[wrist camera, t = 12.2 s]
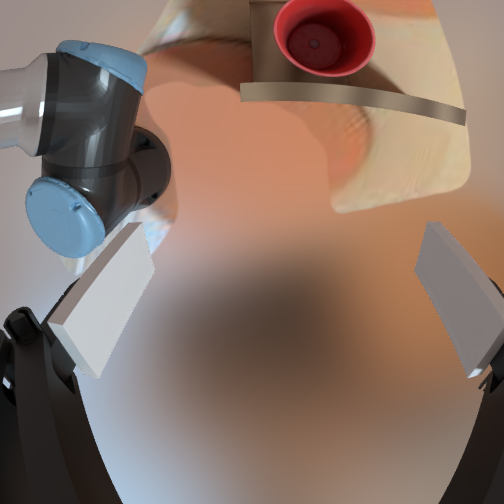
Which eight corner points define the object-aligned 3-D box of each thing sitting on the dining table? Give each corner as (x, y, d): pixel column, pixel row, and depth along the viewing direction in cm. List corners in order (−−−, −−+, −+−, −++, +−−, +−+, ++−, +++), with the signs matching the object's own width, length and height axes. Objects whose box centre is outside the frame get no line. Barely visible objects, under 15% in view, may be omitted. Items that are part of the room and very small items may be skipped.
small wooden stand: (256, 86, 38) (252, 85, 33) (252, 7, 30) (248, -4, 25) (340, 89, 36) (349, 89, 31) (337, 10, 29) (345, 0, 24)
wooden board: (253, 98, 39) (240, 101, 25) (252, 86, 38) (240, 83, 24) (410, 111, 36) (465, 126, 23) (411, 99, 35) (466, 110, 22)
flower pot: (278, 7, 27) (279, -17, 18) (357, 23, 27) (380, 7, 18) (268, 73, 32) (266, 66, 24) (347, 88, 32) (369, 88, 24)
